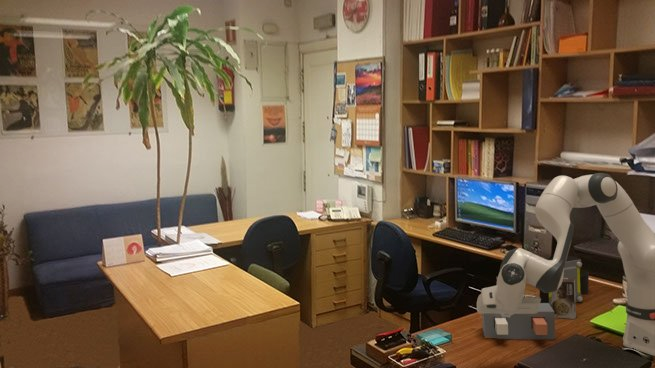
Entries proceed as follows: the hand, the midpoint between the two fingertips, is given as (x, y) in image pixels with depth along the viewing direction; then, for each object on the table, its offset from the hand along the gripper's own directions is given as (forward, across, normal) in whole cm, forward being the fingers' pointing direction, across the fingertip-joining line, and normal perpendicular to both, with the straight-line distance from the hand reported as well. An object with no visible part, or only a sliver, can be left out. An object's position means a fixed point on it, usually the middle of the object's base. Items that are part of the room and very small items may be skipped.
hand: (505, 315), depth 193 cm
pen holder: (+67, -43, -45) cm, 92 cm away
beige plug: (+21, 0, -4) cm, 21 cm away
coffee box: (+44, -30, -21) cm, 57 cm away
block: (+28, -7, -5) cm, 30 cm away
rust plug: (+21, -14, -4) cm, 25 cm away
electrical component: (+57, -32, -34) cm, 74 cm away
